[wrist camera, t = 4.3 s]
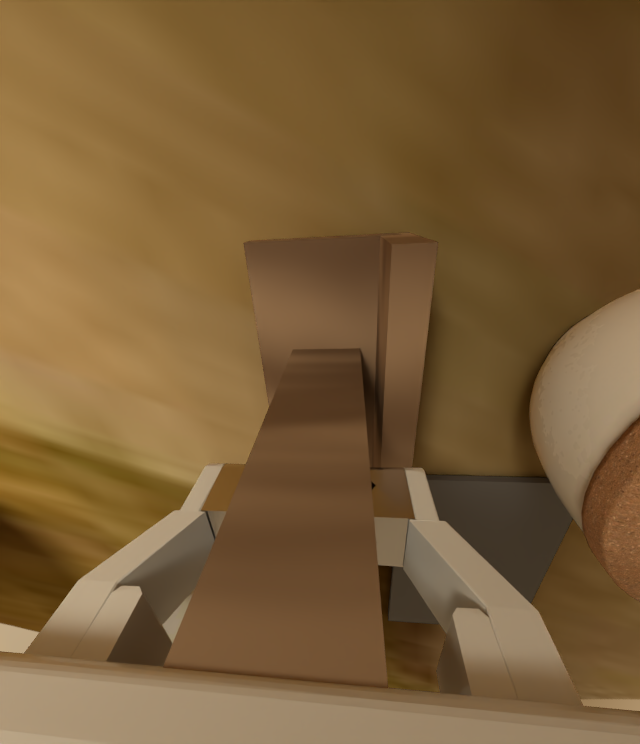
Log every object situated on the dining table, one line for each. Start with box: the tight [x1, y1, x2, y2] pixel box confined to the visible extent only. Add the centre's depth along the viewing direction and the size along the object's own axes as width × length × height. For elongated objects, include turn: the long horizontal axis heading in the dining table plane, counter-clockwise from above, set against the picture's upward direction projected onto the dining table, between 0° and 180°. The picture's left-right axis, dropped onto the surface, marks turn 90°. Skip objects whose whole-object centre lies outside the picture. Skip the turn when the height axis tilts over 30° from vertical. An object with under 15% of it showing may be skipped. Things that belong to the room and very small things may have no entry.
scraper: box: [163, 232, 438, 688], centre depth 10 cm, size 12×6×12 cm, turn 3°
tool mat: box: [388, 475, 573, 624], centre depth 21 cm, size 16×10×1 cm, turn 3°
